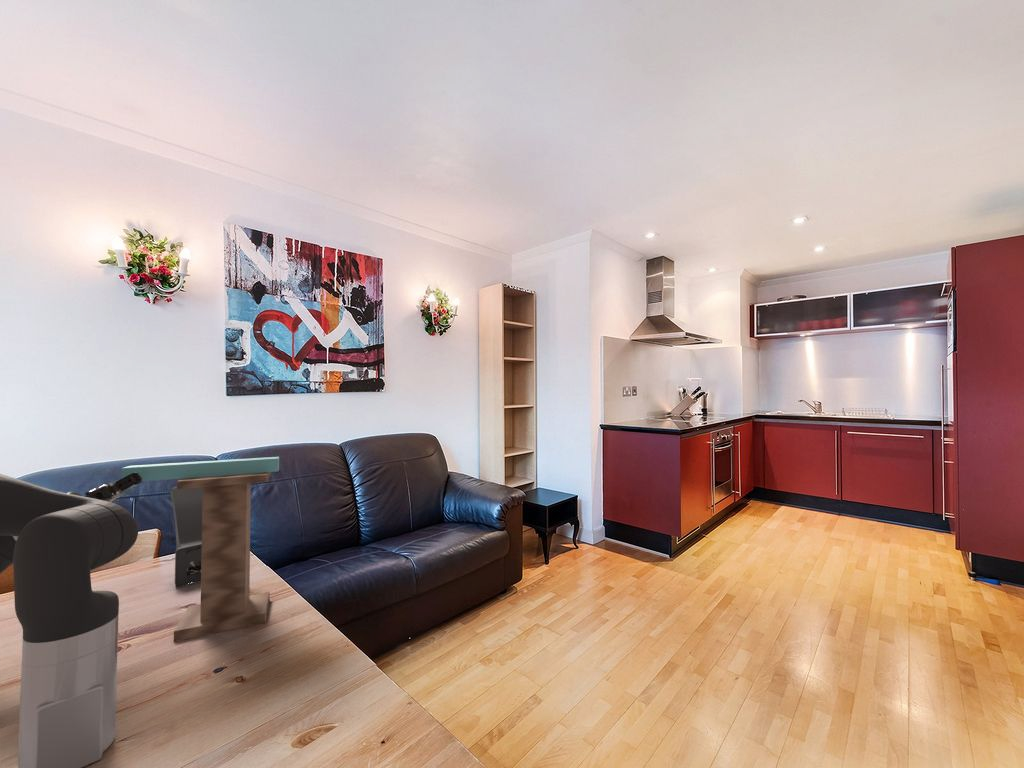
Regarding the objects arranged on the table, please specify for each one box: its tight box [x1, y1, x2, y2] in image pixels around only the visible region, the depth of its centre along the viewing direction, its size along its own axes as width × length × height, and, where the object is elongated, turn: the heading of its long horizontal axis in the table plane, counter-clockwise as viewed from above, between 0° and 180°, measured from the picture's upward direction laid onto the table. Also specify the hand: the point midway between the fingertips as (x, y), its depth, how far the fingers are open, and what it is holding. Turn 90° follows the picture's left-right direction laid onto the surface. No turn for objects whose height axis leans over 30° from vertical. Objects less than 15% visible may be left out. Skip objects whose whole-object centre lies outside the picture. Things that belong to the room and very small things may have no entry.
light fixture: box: [170, 486, 203, 588], centre depth 122 cm, size 11×17×24 cm, turn 48°
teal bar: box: [120, 456, 280, 483], centre depth 94 cm, size 28×4×3 cm, turn 116°
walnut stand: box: [173, 472, 272, 642], centre depth 95 cm, size 16×12×32 cm
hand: (146, 472), depth 90 cm, fingers open, 8 cm apart
